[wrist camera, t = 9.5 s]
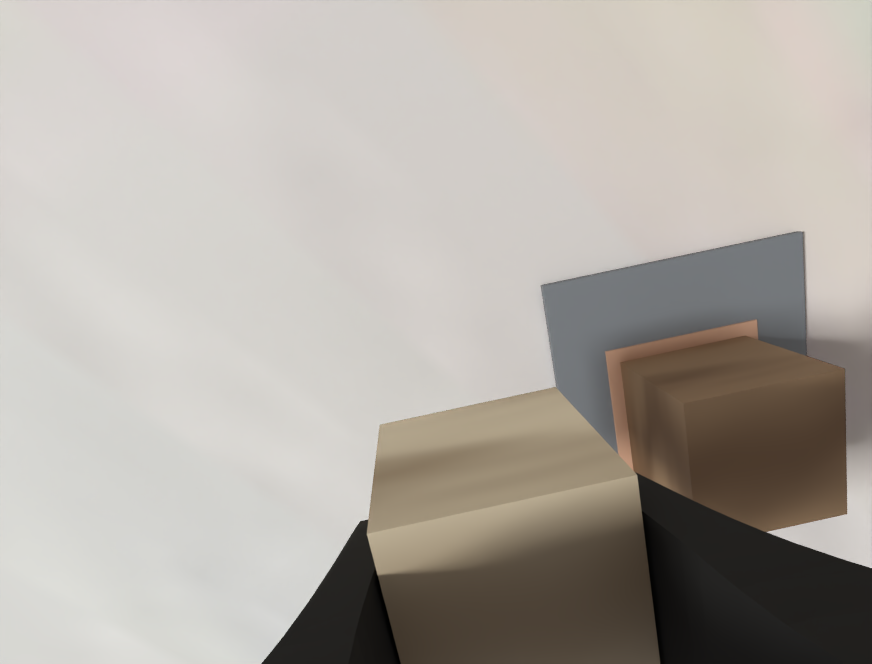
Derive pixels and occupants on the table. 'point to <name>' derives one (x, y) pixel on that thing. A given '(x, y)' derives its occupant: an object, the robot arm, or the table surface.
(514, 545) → the beech block
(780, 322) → the grey flat slab
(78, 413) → the table surface
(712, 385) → the walnut block
